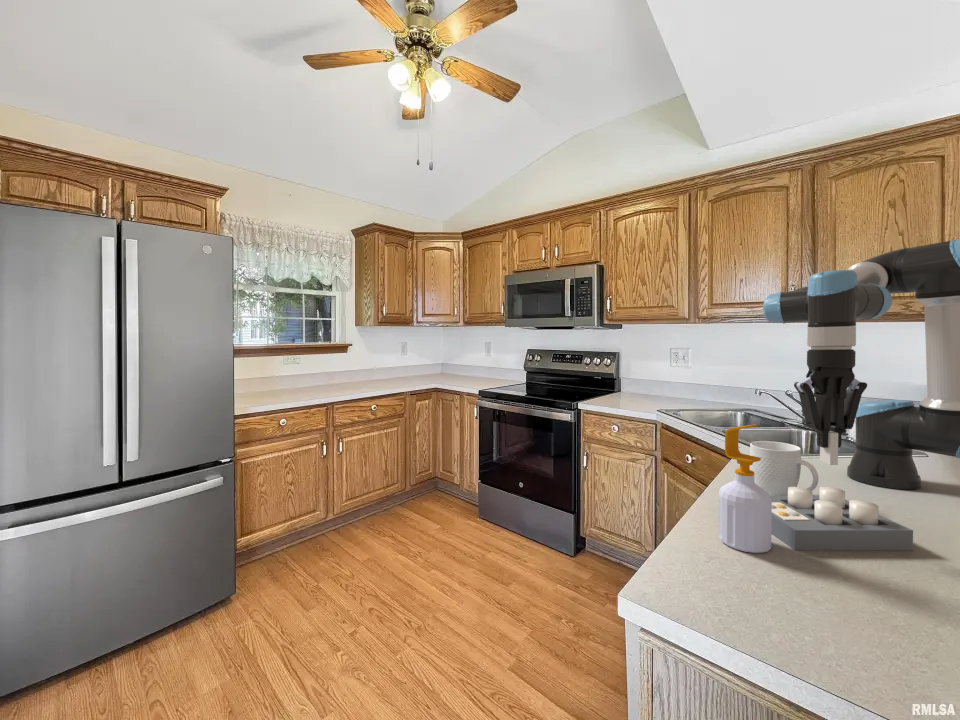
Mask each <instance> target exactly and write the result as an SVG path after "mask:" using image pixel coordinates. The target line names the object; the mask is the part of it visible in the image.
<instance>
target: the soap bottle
mask: <svg viewBox="0 0 960 720" xmlns="http://www.w3.org/2000/svg"><path fill="white" fill-rule="evenodd" d="M755 427H758V423H757V424H749V425H741V426H737V427H730V428H728V429H727V430H725V433H724V453H725V454H724V455H725V456H726V457H727V458H729V459H731V460H736V464H739V468H736V469H734V480H733V481H730V482H727V483H726V484H724V485H722V486H720V489H719V490H718V491H719V492H718V539H719V540H720V541H721V542H722V543H723V544H725V545H726V546H728V547H730V548H732V549H735V550H738V551H740V552H744V553H750V554H752V553H753V554H761V553H767V552H769V551H770V550H771V549H772V534H771V528H772V501H771V497H770V495H769V494H768V493H767V492H766V491H765V490H764V489H763V488H761V487H760V486H758V485H756V484H755V482H754V471H751V467H750V466H751V465H753V462H757V461H761V458H759V457H755V456H750V454H746V453H742V452H741V451H740V450H739V434H740V430H743V429H751V428H755Z"/></svg>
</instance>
